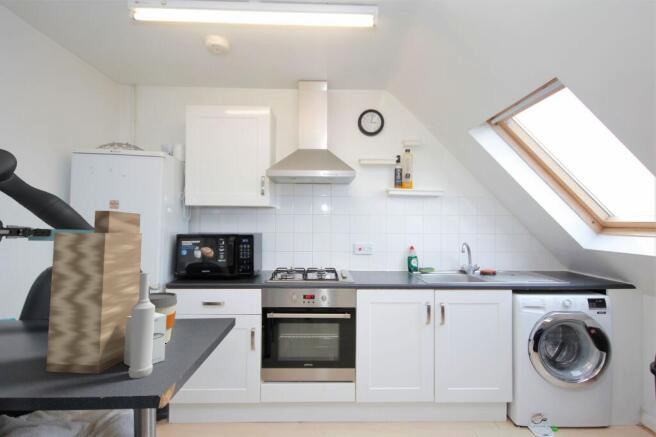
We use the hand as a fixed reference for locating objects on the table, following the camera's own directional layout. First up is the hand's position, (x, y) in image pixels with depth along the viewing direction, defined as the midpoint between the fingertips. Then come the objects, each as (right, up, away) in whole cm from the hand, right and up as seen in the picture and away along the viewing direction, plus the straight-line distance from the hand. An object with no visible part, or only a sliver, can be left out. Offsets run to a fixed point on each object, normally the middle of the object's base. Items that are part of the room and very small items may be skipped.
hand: (53, 232), depth 98 cm
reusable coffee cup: (+29, -36, +4) cm, 46 cm away
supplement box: (+35, -35, -12) cm, 51 cm away
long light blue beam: (+6, -1, +3) cm, 7 cm away
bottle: (+38, -34, -19) cm, 55 cm away
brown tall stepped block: (+22, -35, -12) cm, 42 cm away
